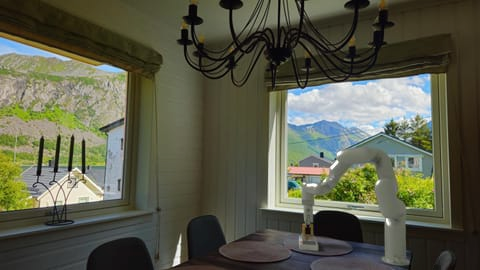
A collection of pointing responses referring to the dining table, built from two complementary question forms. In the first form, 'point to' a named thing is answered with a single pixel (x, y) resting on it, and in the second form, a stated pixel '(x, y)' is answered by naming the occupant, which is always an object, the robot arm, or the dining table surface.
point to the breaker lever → (308, 234)
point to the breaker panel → (308, 243)
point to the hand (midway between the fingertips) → (307, 233)
